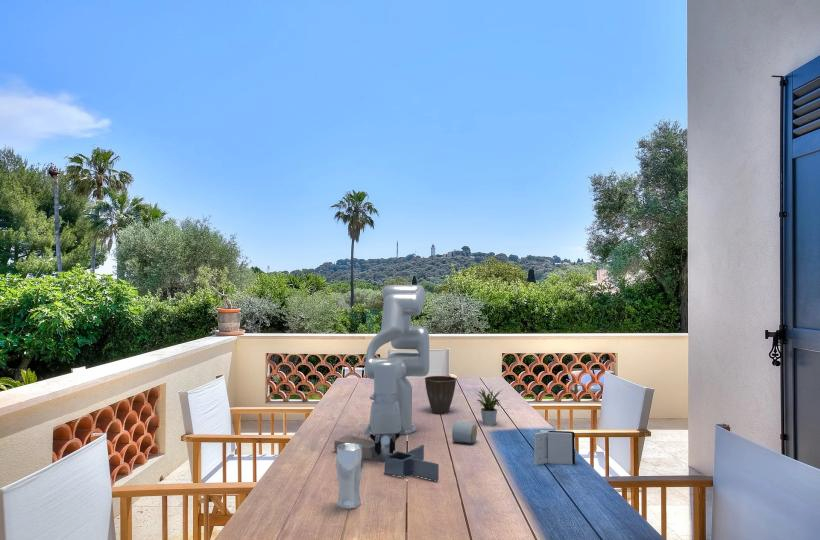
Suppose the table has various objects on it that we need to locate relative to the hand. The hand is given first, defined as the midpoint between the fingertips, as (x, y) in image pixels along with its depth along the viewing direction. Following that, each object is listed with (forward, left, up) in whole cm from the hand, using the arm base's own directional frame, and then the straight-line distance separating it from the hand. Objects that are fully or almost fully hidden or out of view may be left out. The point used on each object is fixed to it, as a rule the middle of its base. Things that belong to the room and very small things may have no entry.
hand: (384, 452), depth 165 cm
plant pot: (-18, +70, -2) cm, 72 cm away
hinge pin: (0, 0, -2) cm, 2 cm away
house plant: (+9, +62, -2) cm, 63 cm away
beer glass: (+13, -34, -2) cm, 36 cm away
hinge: (+48, +28, -3) cm, 56 cm away
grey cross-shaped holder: (+16, -2, -2) cm, 16 cm away
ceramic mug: (+13, +34, -3) cm, 37 cm away
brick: (-12, +1, -3) cm, 12 cm away
